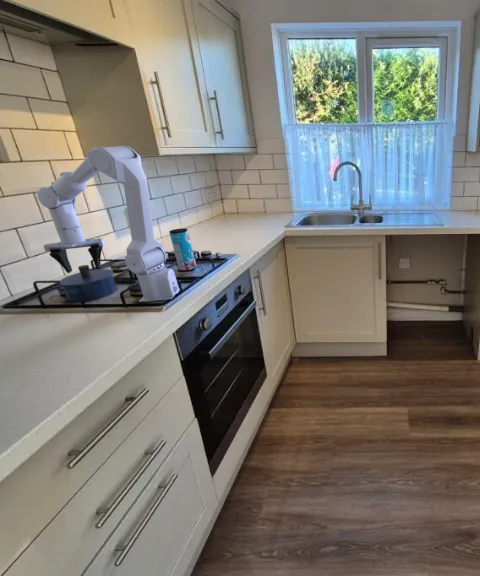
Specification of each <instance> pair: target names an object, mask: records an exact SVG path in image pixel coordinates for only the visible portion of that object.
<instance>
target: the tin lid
mask: <svg viewBox="0 0 480 576" xmlns="http://www.w3.org/2000/svg"><path fill="white" fill-rule="evenodd" d="M77 268H78V271H79V272H77V273H73V274H70V275H68V276H65V277H63V278H62V279H60V280H59V284H60V286H62V287H63V286H81V285H87V284H92V283H95V282H99V281H102V280H105V279H107V278H109V277H111V276H112V275H114V270H111V269H108V268H107V269H106V268H102V269H101V268H100V269H90V266H89V264H83V265H79V266H78V267H77Z"/></svg>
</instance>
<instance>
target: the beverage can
mask: <svg viewBox="0 0 480 576" xmlns="http://www.w3.org/2000/svg"><path fill="white" fill-rule="evenodd" d="M168 232H169V236H170V240H171V244H172V248H173V251H174V255H175V259H176V263H177V267H178V270H179V271H180V272H191V271H194V270H196V269H197V263H196V259H195V254H194V250H193V245H192V242H191V237H190V234H189V231H188V228H174V229H171V230H169V231H168Z"/></svg>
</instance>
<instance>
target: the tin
mask: <svg viewBox="0 0 480 576" xmlns="http://www.w3.org/2000/svg"><path fill="white" fill-rule="evenodd" d="M113 275H114V274H113ZM113 275H112V276H111V277H109V278H107V279H105V280H102V281H99V282H95V283H92V284H87V285H81V286H62V288H63V291H64V294H65V296H66V298H67V299H68V301H70V302H73V303H81V302H82V303H83V302H84V303H85V302H90V301H94V300H99V299H102V298H105V297H108V296H111V295H112V294H113V293H115V292H116V291H117V290H118V289H117V284H116V282H115V278H114V276H113ZM81 297H82V298H83V299H81Z"/></svg>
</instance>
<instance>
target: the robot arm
mask: <svg viewBox="0 0 480 576" xmlns="http://www.w3.org/2000/svg"><path fill="white" fill-rule="evenodd" d="M141 158H142V157H141V155H140V154H139V153H138V152H137V151H135V150H134V148H132V146H131V147H130V146H128V145H120V146H119V145H117V146H94V147H92V148H91V150H89V151H87V152H86V157H85V158H84V160H83V161H82V162H81V163H80V164H79V165H78V166H77V167H76V168H75V170H74V171H61V172H60V173H59V177H58V178H57V179H56V180H55V181H52V182H51V183H50V184H51V185H50V186H48V187H45V186H44V187H43V186H42V187H39V189H38V191H37V193H36V194H37V199H38V201H39V203H40V204H41V205H42V206H43V207H45V208H47V210H48V212H49V214H50V217H51V220H52V222H53V225H54V228H55V230H56V232H57V235H58V238H59V240H60V241H58V242H50V243H46V244H43V249H44V251H45V252H46V253H48V252H50V253H49V256H50V257H51V258H53V259H54V260H55V261H56V262H57V263H58V264H59V265H60V266H61V267H62V268H63V269H64V271H65V272H66V274H70V273H71V272H72V271H73V268H72V265H71V264H70V260H69V257H68V253H67V250H70V249H71V250H73V249H79V248H88V249H87V251H88V253H89V255H90V256H91V258H92V261H93V264H94V267H95V270H98V269H101V268H102V264H101V263H102V262H101V260H102V259H101V257H102V250H103V246H105V245H106V244H105V240H104V238H86V237H85V235H84V231H83V229H82V226H81V224H80V221H79V218H78V215H77V213H76V210H77V207H76V201H77V197H78V196H79V195H80V194H81V193H82V192H84V191H85V190H86V189H87V188H88V183H87V182H88V181H90V180H91V179H92V178H93V177H95V176H96V175H97V174H99V173H100V172H101V173H102V174H104V175H106V176H108V177H109V178H111V179H113V180H115V181H116V182H119V183H120V184H121V185H122V186H123V190H124V197H125V203H126V204H125V205H126V210H127V218H128V223H129V230H130V236H131V241H130V242H129V244H128V246H127V247H126V249H125V251H126V256H125V259H124V262H125V266H126V268H127V269H128V270H129V271H131V272H132V273H133V274H134V275H136V277H137V280H138V284H139V287H140V290H141V293H142V297H141V298H140V299H139V300H138V302H141V303H142V302H152V301H161V300H172V299H173V298H174V297H175V295H176V294H178V293H179V292H180V291H181V288H180V287H179V285H178V280H177V277H176V273H175V270H174V269H173V268H166V267H165V262H166V261H167V254H166V251H165V250H164V247H163V242H161V241H159V240H158V239H155V233H154V226H153V218H152V217H153V216H152V209H151V202H150V193H149V185H148V178H147V176H146V174H145V172H144V169H143V166H142V159H141Z"/></svg>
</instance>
